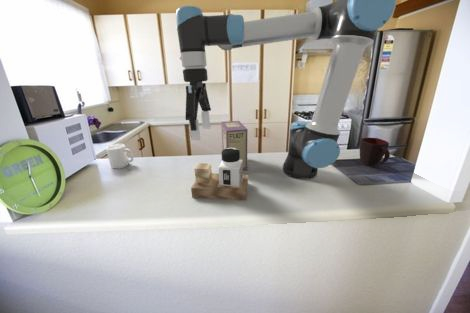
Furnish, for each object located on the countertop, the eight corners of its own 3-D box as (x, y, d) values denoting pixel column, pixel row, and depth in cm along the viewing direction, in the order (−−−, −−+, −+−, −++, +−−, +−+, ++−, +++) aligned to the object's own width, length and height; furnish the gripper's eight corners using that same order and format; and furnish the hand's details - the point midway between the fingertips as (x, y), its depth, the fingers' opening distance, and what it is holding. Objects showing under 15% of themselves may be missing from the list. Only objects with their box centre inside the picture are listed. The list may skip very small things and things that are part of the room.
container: (239, 187, 73) (239, 154, 68) (219, 185, 74) (217, 153, 69) (242, 177, 80) (242, 146, 75) (223, 175, 81) (222, 145, 76)
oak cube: (211, 177, 80) (210, 163, 78) (208, 183, 76) (207, 169, 74) (199, 176, 81) (198, 163, 79) (196, 182, 77) (194, 168, 74)
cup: (117, 161, 106) (112, 143, 102) (139, 161, 106) (135, 143, 102) (107, 168, 99) (101, 149, 95) (131, 168, 98) (126, 149, 94)
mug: (370, 159, 103) (376, 137, 99) (392, 171, 91) (401, 146, 86) (352, 160, 102) (357, 138, 98) (372, 173, 90) (379, 148, 85)
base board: (247, 183, 84) (247, 174, 82) (245, 200, 73) (245, 190, 71) (201, 181, 86) (200, 172, 84) (192, 197, 75) (190, 187, 73)
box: (247, 170, 94) (247, 129, 86) (228, 172, 93) (226, 130, 85) (239, 157, 109) (239, 120, 101) (223, 158, 108) (221, 121, 100)
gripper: (195, 68, 75) (201, 124, 83) (165, 68, 52) (178, 145, 60) (215, 67, 74) (219, 124, 82) (193, 67, 51) (202, 145, 59)
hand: (201, 133), depth 71 cm, fingers open, 13 cm apart
